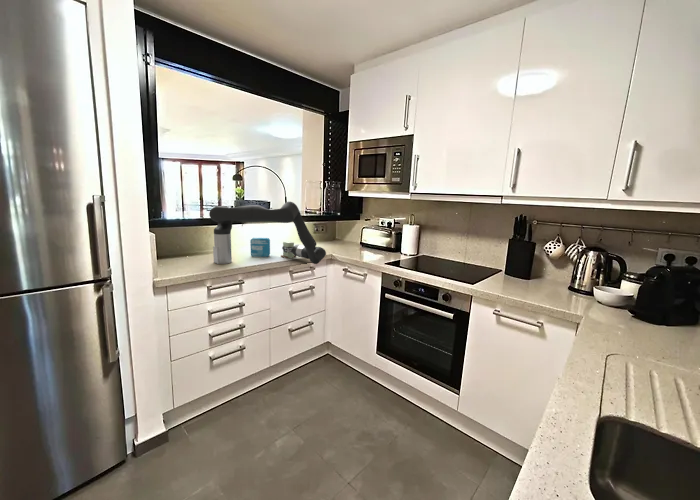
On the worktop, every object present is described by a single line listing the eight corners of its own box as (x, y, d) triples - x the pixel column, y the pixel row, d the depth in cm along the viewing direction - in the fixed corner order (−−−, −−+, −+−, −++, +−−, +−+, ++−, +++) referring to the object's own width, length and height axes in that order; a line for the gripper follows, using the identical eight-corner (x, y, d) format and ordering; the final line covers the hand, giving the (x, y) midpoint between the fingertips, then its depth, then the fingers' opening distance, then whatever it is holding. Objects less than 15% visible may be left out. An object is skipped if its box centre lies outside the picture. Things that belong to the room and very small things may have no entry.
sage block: (288, 258, 203) (288, 243, 202) (283, 256, 207) (283, 241, 206) (293, 257, 206) (293, 242, 205) (288, 255, 210) (288, 241, 209)
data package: (250, 256, 204) (250, 238, 202) (251, 255, 209) (251, 237, 207) (269, 256, 206) (269, 238, 204) (270, 255, 210) (269, 237, 208)
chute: (286, 258, 202) (286, 257, 202) (280, 256, 207) (280, 255, 207) (296, 257, 207) (296, 255, 207) (290, 255, 212) (290, 254, 212)
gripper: (310, 244, 200) (295, 241, 212) (291, 246, 190) (276, 242, 202) (310, 255, 201) (294, 251, 213) (291, 258, 192) (276, 254, 203)
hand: (286, 247), depth 208 cm, fingers closed on sage block, 4 cm apart
